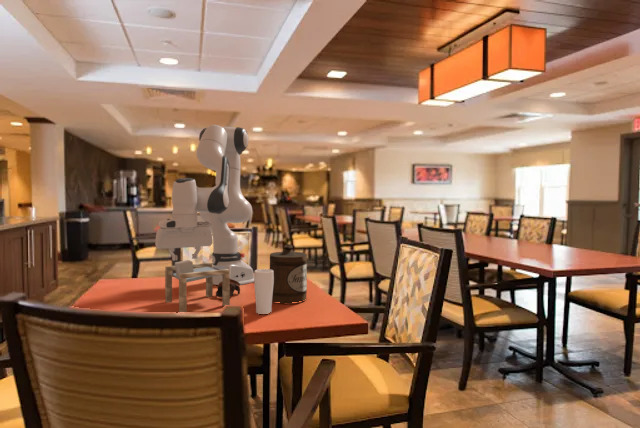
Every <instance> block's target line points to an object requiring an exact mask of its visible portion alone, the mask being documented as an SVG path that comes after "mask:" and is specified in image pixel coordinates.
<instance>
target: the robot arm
mask: <svg viewBox="0 0 640 428" xmlns="http://www.w3.org/2000/svg"><path fill="white" fill-rule="evenodd" d="M198 140H199V142H198V145H197V149H196V154H195V155H196V158H197V161H198V162H199V163H200V164H201V165H202V166H203V167H204V168H206V169H209V170H212V171H214V172H215V185H214V186H213V187H198V185H197V183H196V179H195V178H191V177H181V178H177V179H175V180H174V181H173V184H172V192H171V196H172V197H171V203H172V213H171V217H170V218H166V219H163V220H160V221H159V222H158V227H159V228H158V229H157V231H156V232H155V233H156V234H155V243H154V245H155V247H156V248H157V249H158V250H168V252H169V253H170V255H171V256H172V257H171V260H172V261H174V262H175V261H176V262H177V261H178V255H177V254H175V253H174V252H175V249H183V248H185V249H186V248H194V251H195V252H194V253H192V254H191V258H192V259H193V260H198V257H199V256H198V255H199V253H200V251H201V248H202V247H211V246H212V245H213V248H212V249H213V250H212V251H213V252H212V255H211V256H212V257H211V263H212V267H216V266H223V267H226V268H229V274H230V279H232V280H235V281H237V282H239V283H240V286H241V285H246V284H252V283H253V284H254V270H253V268H252V267H251V266H250V265H249V264H247V263H246V262H245V261H243V260H242V259H243V258H245V257H246V255H245V253H243V252H239V251H238V249H239V248H238V247H239V246H238V240H239V238H238V235H237V233H236V232H235V231H233V230H231V228H230V227H229V226H228V224H240V223H245V222H249V220H250V219H251V218H252V216H253V207H252V204H251V203H250V202H249V201H248V200H247V199H246V198H245V196H244V195H243V192H242V189H241V165H242V164H241V162H242V161H241V154H242V153H243V152H244V151H245V150H246V149H247V147H248V146H249V134H248V131H247V130H246V129H245V128H242V127H239V126H238V127H234V126H221V125H218V124H211V125H209V126H207V127H204V128H202V130H201V131H200V133H199V137H198ZM198 213H199V216H200V218H201V219H202V221H198ZM220 282H222V275H218V276H213V285H215V286H216V285H217V286H219V283H220Z"/></svg>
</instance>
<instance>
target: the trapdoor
mask: <svg viewBox="0 0 640 428" xmlns="http://www.w3.org/2000/svg"><path fill="white" fill-rule="evenodd" d="M212 267H213V266H212ZM212 267H209V266H207V267H203V268H195V269H193V270H194V272H203V271H213V270H223V269H229V268H226V267H223V266H216V267H213V268H212ZM221 275H222V274H221ZM213 276H218V275H212V276H202V277H193V278H186V284H187V283H190V282H195V281H199V280H204V279H206V278H209V277H213ZM173 277H174V278H176V279H177V280H178V281H179V277H178V276H176V272H174V273H172V278H173Z"/></svg>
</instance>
